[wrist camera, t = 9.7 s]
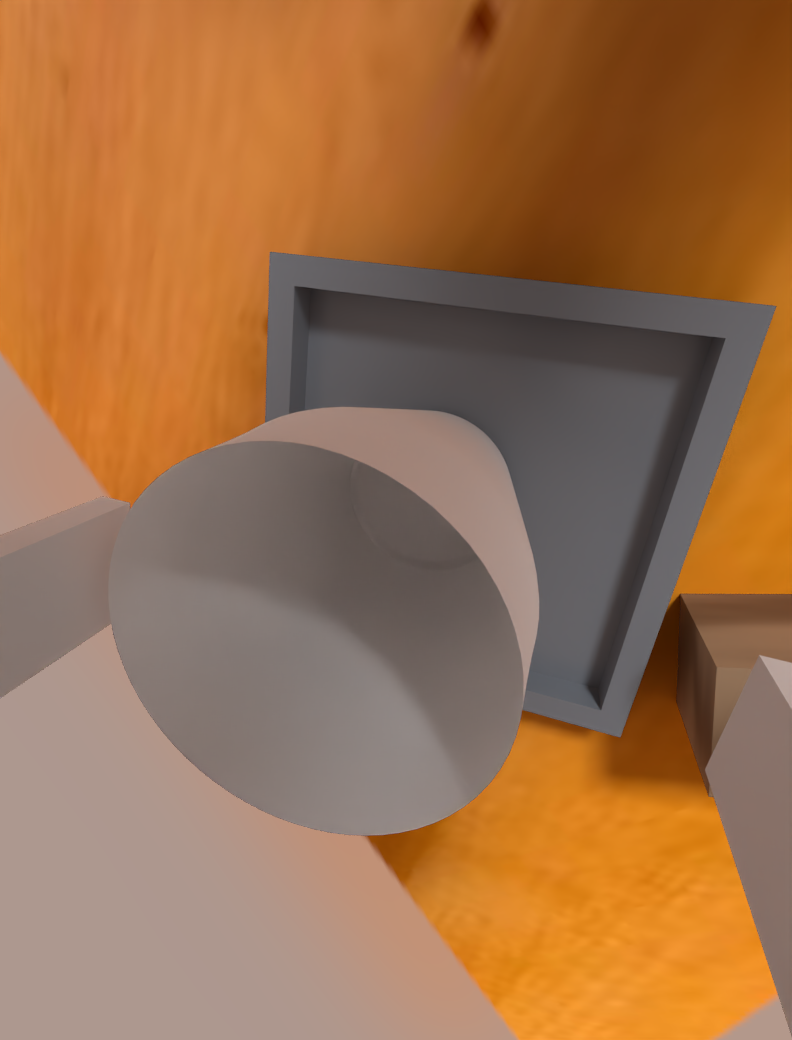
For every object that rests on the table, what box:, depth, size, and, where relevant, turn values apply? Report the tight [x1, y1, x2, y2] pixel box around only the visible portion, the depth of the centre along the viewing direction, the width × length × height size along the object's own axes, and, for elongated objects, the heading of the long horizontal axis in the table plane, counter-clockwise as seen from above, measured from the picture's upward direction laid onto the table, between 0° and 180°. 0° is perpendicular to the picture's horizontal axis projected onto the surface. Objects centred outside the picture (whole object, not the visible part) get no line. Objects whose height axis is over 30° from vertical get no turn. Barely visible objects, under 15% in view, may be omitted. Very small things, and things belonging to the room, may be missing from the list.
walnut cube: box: [676, 594, 792, 797], centre depth 18 cm, size 5×5×5 cm
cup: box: [108, 407, 539, 836], centre depth 15 cm, size 9×9×12 cm
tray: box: [265, 252, 776, 737], centre depth 20 cm, size 16×16×2 cm
